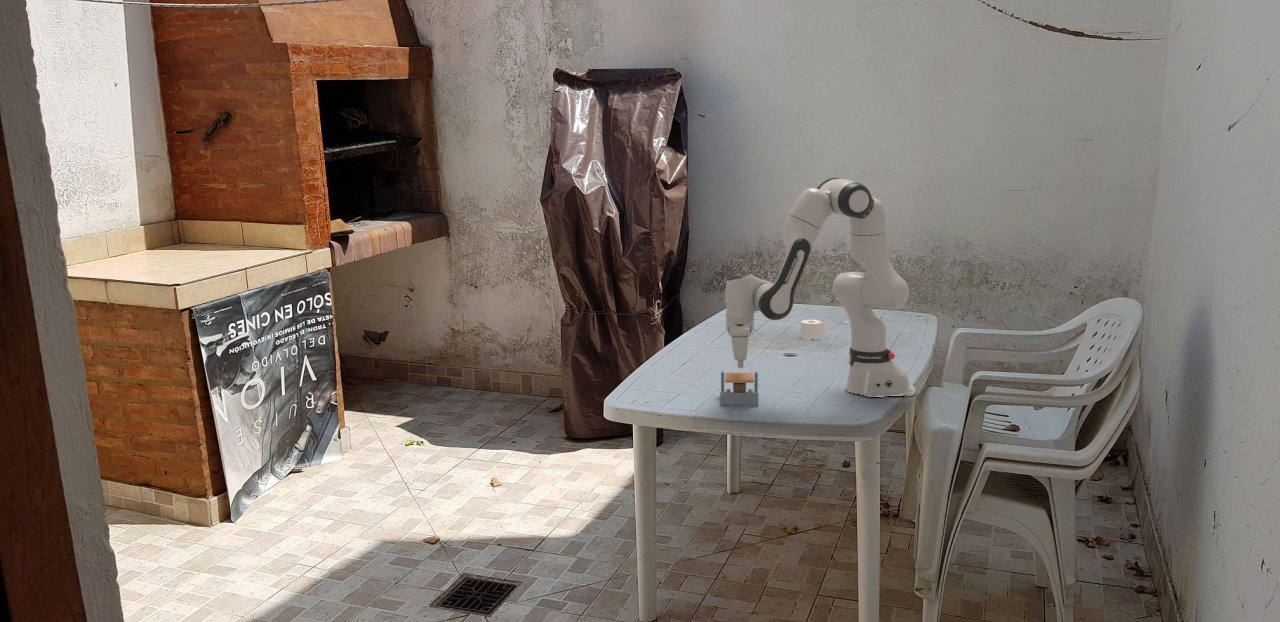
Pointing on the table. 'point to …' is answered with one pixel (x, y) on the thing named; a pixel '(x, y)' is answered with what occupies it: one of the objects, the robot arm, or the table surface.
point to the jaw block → (739, 387)
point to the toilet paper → (814, 329)
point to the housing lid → (739, 378)
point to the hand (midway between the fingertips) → (740, 366)
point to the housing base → (739, 395)
